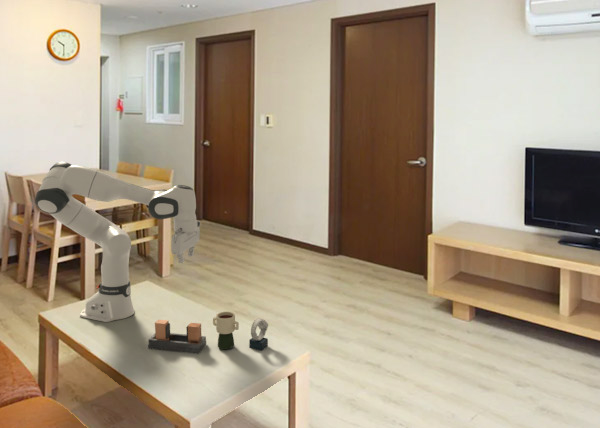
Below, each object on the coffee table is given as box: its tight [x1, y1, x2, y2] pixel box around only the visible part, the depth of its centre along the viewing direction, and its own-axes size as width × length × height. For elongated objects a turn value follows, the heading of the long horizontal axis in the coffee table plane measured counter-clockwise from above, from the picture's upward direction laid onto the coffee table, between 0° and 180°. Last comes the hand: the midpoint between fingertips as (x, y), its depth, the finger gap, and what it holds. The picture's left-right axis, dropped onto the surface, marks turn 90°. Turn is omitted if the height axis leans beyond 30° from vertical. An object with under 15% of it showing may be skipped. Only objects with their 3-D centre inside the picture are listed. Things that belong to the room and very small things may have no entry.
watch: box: [248, 318, 269, 351], centre depth 193 cm, size 6×8×11 cm
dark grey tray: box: [147, 322, 207, 355], centre depth 192 cm, size 20×8×10 cm, turn 80°
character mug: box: [212, 311, 240, 350], centre depth 192 cm, size 11×7×13 cm, turn 68°
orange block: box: [154, 319, 171, 340], centre depth 193 cm, size 5×3×8 cm
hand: (186, 259), depth 205 cm, fingers open, 8 cm apart
